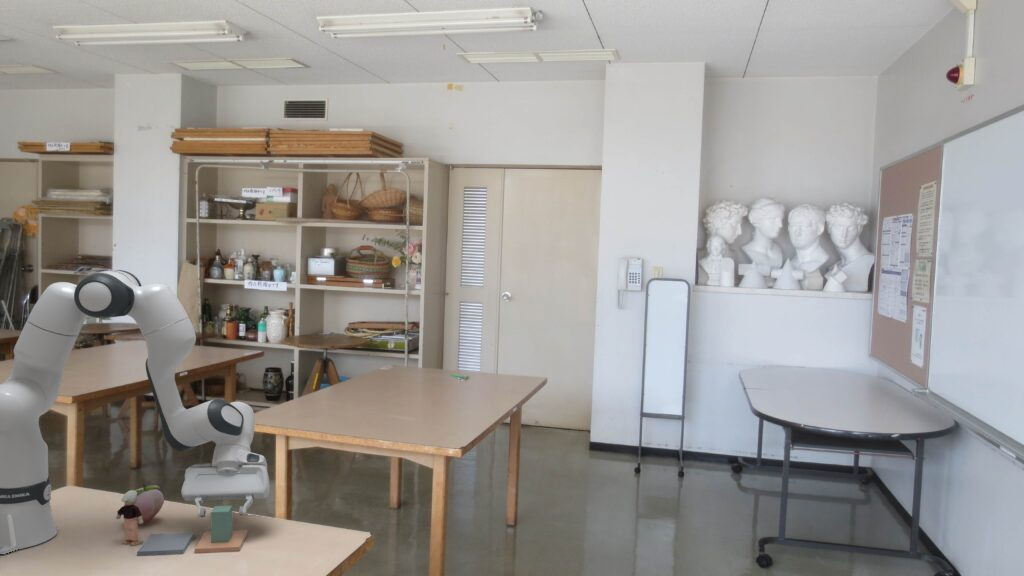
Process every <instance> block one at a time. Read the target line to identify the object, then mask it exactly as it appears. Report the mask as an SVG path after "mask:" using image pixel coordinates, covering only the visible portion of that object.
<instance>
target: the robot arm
mask: <svg viewBox="0 0 1024 576" xmlns="http://www.w3.org/2000/svg"><path fill="white" fill-rule="evenodd" d="M125 316H128V317H131V318H132V320H134V321H135V323H136V324H137V326H138V328H139V330H140V333H141V334H142V337H143V338H144V341H145V345H146V347H147V348H146V349H147V350H146V351H147V358H146V359H145V373H146V376H147V380H148V383H149V387H150V390H151V393H152V395H153V399H154V402H155V404H156V407H157V410H158V414H159V418H160V421H161V430H162V435H163V439H164V441H165V443H166V444H167V445H168V446H169V447H171V448H172V449H174V450H175V451H178V452H180V453H181V452H183V453H184V452H188V451H190V450H193V449H196V448H197V447H200V445H203V444H207V443H209V442H213V443H215V447H214V450H213V455H212V460H211V462H210V463H194V464H192V465H190V466H188V467H187V468H186V469H185V473H184V481H183V483H182V487H181V492H180V493H181V497H182V498H183V500H184V501H185V502H195V504H196V507H197V513H196V514H197V515H196V516H197V517H198V518H206V514H207V510H206V508H205V507H202V506H201V505H203V504H204V501H228V500H232V501H233V500H246V501H245V503H244V504H243V505H242V506H241V505H240V506H239V510H238V515H239V517H241V516H244V517H246V516H247V511H248V509H249V508H250V507H251V506H252V504H253V502H254V500H257V499H258V500H259V499H260V500H261V499H262V500H265V499H266V498H268V496H269V495H270V494H269V493H270V477H269V473H268V463H267V462H268V461H267V459H266V457H265V456H264V455H262V454H258V453H255V452H252V451H251V450H252V449H251V444H252V442H253V439H254V434H255V426H256V425H255V421H256V420H255V419H256V418H255V413H254V410H253V408H252V406H251V405H249V404H247V403H245V402H242V401H231V402H229V401H227V400H225V399H222V398H214V399H211V400H208V401H205V402H203V403H200V404H198V405H195V406H193V407H190V408H188V409H187V408H185V406H184V405H183V401H182V399H181V395H180V392H179V390H178V386H177V382H176V379H175V377H176V376H175V375H176V371H177V370H178V367H179V366H180V365H181V364H182V363H183V362H184V360H186V359H187V358H188V357H189V355H190V354H191V352H192V351H193V349H194V347H195V345H196V341H197V336H196V335H197V334H196V330H195V327H194V325H193V323H192V320H191V319H190V317H189V315H188V313H187V311H186V310H185V308H184V306H183V304H182V303H181V301H180V300H179V298H178V297H177V295H176V294H175V293H174V291H173V290H172V289H171V288H170V286H169V285H167V284H165V283H162V282H161V283H160V282H154V283H153V282H152V283H148V284H145V285H142V283H141V281H140V279H138V277H137V276H136V275H134V274H133V273H131V272H129V271H126V270H123V269H110V270H109V269H105V270H102V271H99V272H95V273H91V274H89V275H87V276H84V278H81V280H80V281H79V282H78V283H77V284H74V283H71V282H68V281H67V282H66V281H58V282H54V283H51V284H50V285H48V286H47V287H46V289H45V290H44V291H43V293H42V294H41V295H40V296H39V298H38V299H37V301H36V303H35V304H34V306H33V308H32V309H31V311H30V314H29V315H28V317H27V319H26V321H25V324H24V326H23V328H22V330H21V333H20V334H19V337H18V339H17V341H16V343H15V345H14V348H13V354H14V356H13V357H14V359H13V363H12V367H11V372H10V374H9V377H8V378H7V379H6V380H4V382H3V383H0V554H4V555H7V554H6V553H8V554H10V553H9V552H11V553H13V552H16V551H18V549H19V550H22V549H26V548H30V547H33V546H37V545H40V544H42V543H43V544H44V543H45V542H47V541H50V539H52V538H54V537H56V535H57V534H58V529H57V527H56V524H55V521H54V516H53V513H52V508H51V506H52V505H51V497H52V496H51V495H52V483H51V482H52V481H51V476H50V475H49V446H48V444H47V442H45V440H44V439H43V436H42V432H41V429H40V425H39V421H40V417H41V416H42V415H44V414H47V412H48V411H49V410H51V408H52V407H53V406H54V404H56V401H57V399H58V396H59V393H60V391H59V389H60V385H61V383H62V382H61V381H62V378H63V374H64V370H65V366H66V363H67V361H68V359H69V356H70V354H71V353H72V350H73V348H74V346H75V344H76V342H77V338H78V337H79V334H80V333H81V330H82V328H83V326H84V324H85V322H86V320H87V318H88V317H91V318H95V319H110V318H118V317H125ZM15 550H16V551H15ZM12 551H13V552H12Z"/></svg>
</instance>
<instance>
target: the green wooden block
mask: <svg viewBox="0 0 1024 576" xmlns="http://www.w3.org/2000/svg"><path fill="white" fill-rule="evenodd" d="M232 530H233V505H230V504H229V505H214V507H213V508H212V509H211V511H210V531H211V543H220V542H229V541H230V539H231V537H232Z"/></svg>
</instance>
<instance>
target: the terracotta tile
mask: <svg viewBox="0 0 1024 576" xmlns="http://www.w3.org/2000/svg"><path fill="white" fill-rule="evenodd" d="M248 533H249V529H240V530H239V529H237V530H236V529H235V530H233V529H232V537H231V539H230V541H229V542H220V543H211V530H209V531H204V533H203V535H202V536H201V538H200V540H199V541H198V542H197V544H196V546H195V548H194V554H202V553H203V554H205V553H207V554H208V553H224V552H225V553H228V552H229V553H230V552H240V550H241V549H242V547H243V545H244V543H245V540H246V539H247V536H248Z"/></svg>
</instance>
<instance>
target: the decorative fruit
mask: <svg viewBox="0 0 1024 576" xmlns="http://www.w3.org/2000/svg"><path fill="white" fill-rule="evenodd" d="M142 486H143V487H141V488H137V489H135V490H134V491H136V492H137V501H136V503H135V504H134V505H135V506H137V507H138V508H139V510H140V512H141V514H142V518H143V519H142V520H143V524H144V523H147V522H149V521H151V520H152V519H153V518H155V517H156V516H157V515H158V514H159V512H160V511H161V509H162V508H163V506H164V503H165V496H164V495H163V493H162V492H161V491H160V490H159V489H161V487H160V486H159V485H156V484H151V485H147V486H146V485H145V484H143V485H142ZM123 503H124V504H123V506H125V505H127V504H126V503H125V502H123ZM137 521H138V519H137ZM138 523H139V521H138Z"/></svg>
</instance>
